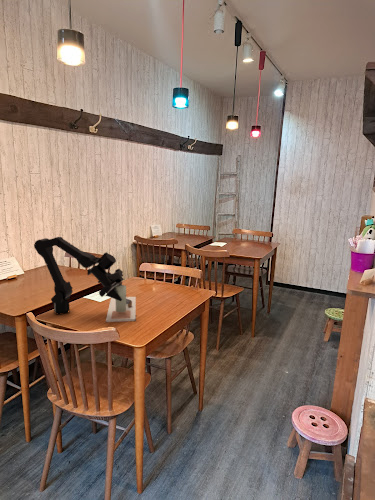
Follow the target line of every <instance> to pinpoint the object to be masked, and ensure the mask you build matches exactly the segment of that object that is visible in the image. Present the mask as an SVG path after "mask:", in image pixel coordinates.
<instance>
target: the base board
mask: <svg viewBox="0 0 375 500" xmlns="http://www.w3.org/2000/svg"><path fill="white" fill-rule="evenodd" d="M126 299H129V300H131V301H132V307H130V308H129V307H128V304H127V305H126V311H131V313H130V318H120V319H111V317H112V312H113V311H116V299H114V298H111V297H110V300H109V306H108V310H107V314H106V318H105V323H112V322H113V323H116V322H119V323H121V322H136V311H137V310H136V306H137V305H136V303H137V301H136V300H137V296H126Z"/></svg>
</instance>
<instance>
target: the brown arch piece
mask: <svg viewBox="0 0 375 500" xmlns="http://www.w3.org/2000/svg"><path fill="white" fill-rule="evenodd" d="M127 304H128V307H129V308H130V307H132V301H131V300H129V299H126V305H127Z"/></svg>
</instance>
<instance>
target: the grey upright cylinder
mask: <svg viewBox="0 0 375 500" xmlns="http://www.w3.org/2000/svg"><path fill="white" fill-rule="evenodd" d="M115 287H116V292H117V293H118V294H119V296H120V297H121V299H122V300H121V301H119V300H116V312H125V311H126V297H127V286H126V285H125V284H122V285H117V286H115Z"/></svg>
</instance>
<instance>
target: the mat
mask: <svg viewBox="0 0 375 500" xmlns="http://www.w3.org/2000/svg"><path fill="white" fill-rule="evenodd" d="M130 313H131V311H125V312H116V311H113V312H112V317H111V319H120V318H130Z"/></svg>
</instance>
